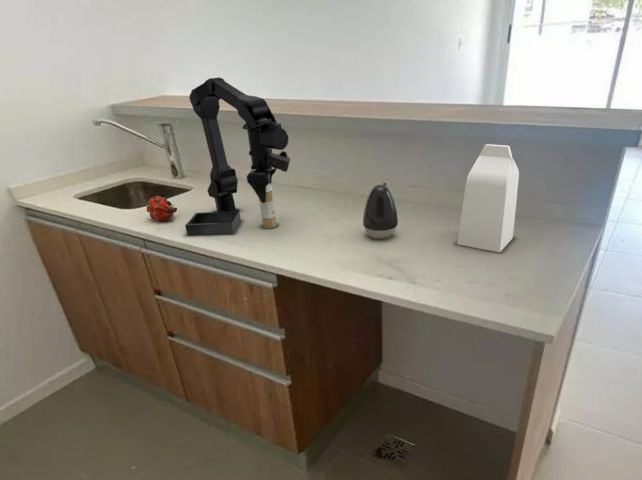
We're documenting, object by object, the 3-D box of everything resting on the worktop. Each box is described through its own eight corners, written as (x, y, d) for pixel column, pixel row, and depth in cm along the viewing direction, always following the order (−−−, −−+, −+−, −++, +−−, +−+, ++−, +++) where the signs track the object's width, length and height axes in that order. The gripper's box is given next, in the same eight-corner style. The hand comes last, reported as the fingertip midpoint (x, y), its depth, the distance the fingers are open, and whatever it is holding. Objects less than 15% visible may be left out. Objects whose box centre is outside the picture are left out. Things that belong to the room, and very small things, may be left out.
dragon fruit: (156, 219, 166) (176, 230, 160) (135, 211, 159) (155, 223, 153) (165, 197, 165) (185, 207, 159) (145, 188, 158) (166, 199, 152)
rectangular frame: (198, 222, 156) (195, 212, 154) (240, 221, 155) (239, 211, 154) (187, 235, 146) (185, 225, 144) (233, 234, 146) (231, 223, 144)
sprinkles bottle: (269, 222, 153) (263, 181, 146) (279, 224, 151) (274, 183, 143) (259, 227, 150) (253, 185, 143) (270, 229, 147) (264, 187, 140)
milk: (457, 244, 131) (465, 148, 117) (472, 230, 139) (481, 139, 125) (499, 252, 125) (514, 152, 111) (512, 237, 133) (527, 142, 119)
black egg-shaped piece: (401, 230, 141) (402, 180, 134) (393, 243, 133) (393, 191, 125) (368, 228, 145) (368, 178, 137) (359, 240, 136) (357, 189, 128)
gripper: (282, 151, 128) (288, 206, 136) (290, 138, 144) (295, 188, 152) (242, 153, 129) (251, 208, 137) (254, 140, 145) (261, 189, 153)
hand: (266, 198), depth 145 cm, fingers open, 9 cm apart
